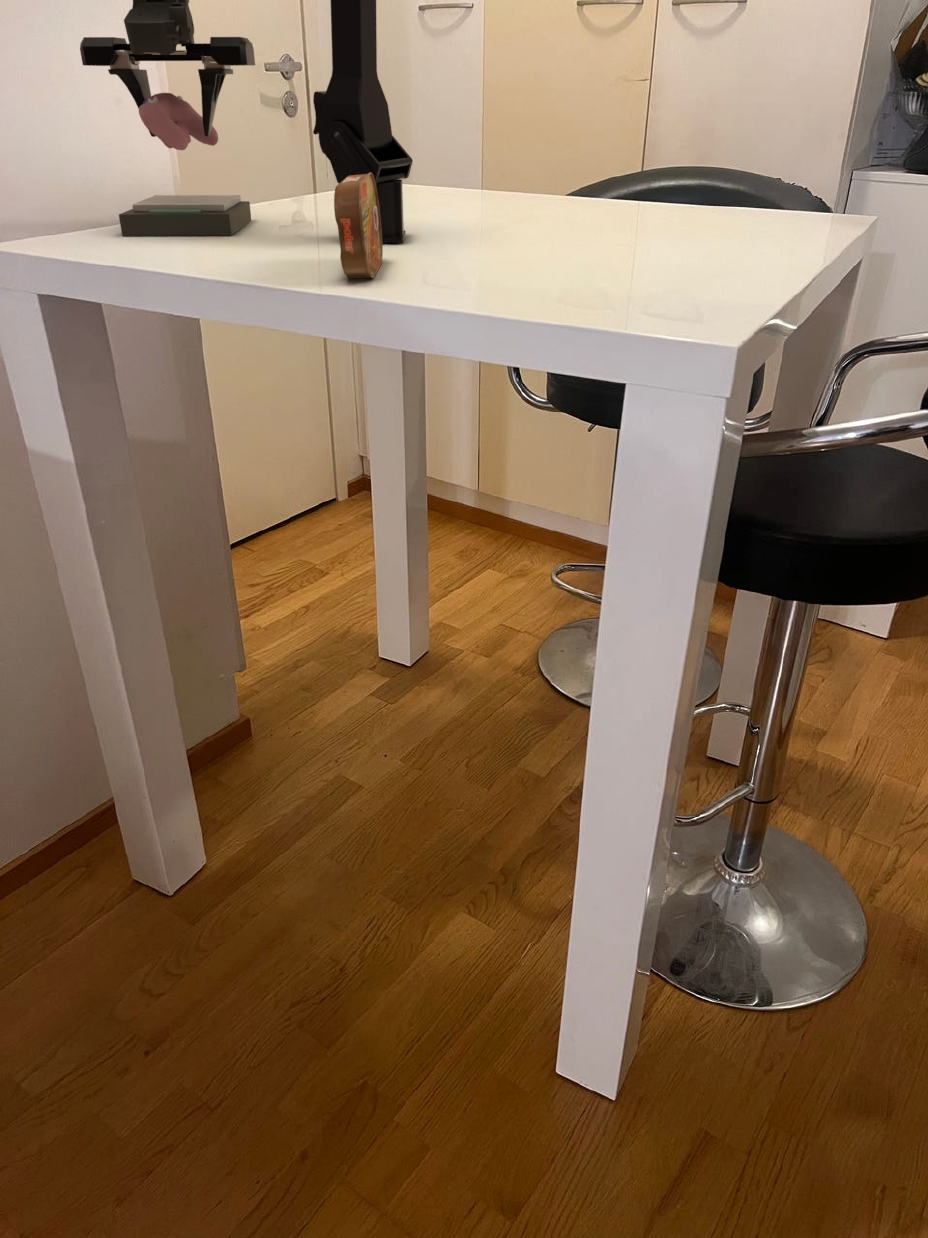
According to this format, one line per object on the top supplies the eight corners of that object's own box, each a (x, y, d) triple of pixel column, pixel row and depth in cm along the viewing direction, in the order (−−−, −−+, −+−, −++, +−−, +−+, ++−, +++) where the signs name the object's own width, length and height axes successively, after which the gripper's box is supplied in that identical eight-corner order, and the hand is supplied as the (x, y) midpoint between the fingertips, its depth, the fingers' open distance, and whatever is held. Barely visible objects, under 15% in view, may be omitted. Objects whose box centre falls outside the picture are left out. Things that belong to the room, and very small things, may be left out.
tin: (370, 285, 85) (364, 183, 81) (335, 285, 85) (328, 183, 81) (385, 257, 98) (381, 168, 94) (355, 257, 98) (350, 168, 94)
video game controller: (195, 158, 118) (164, 101, 115) (223, 140, 116) (193, 82, 114) (158, 164, 110) (124, 103, 107) (188, 145, 108) (154, 82, 105)
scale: (251, 220, 123) (248, 194, 121) (231, 235, 112) (228, 206, 110) (152, 221, 123) (148, 194, 121) (122, 235, 111) (117, 206, 110)
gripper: (48, -28, 98) (79, 140, 105) (228, -28, 98) (245, 140, 106) (84, -19, 107) (110, 135, 115) (247, -19, 107) (262, 134, 115)
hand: (180, 136), depth 112 cm, fingers closed on video game controller, 6 cm apart
